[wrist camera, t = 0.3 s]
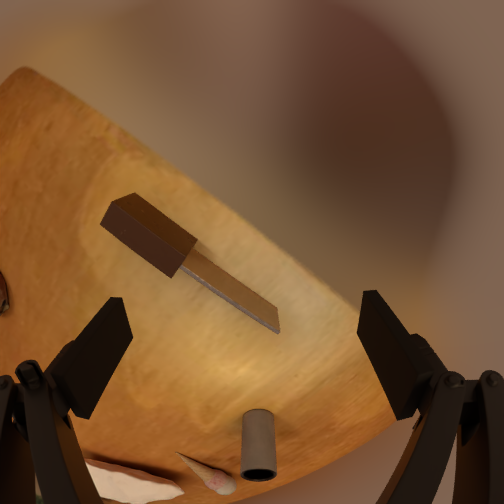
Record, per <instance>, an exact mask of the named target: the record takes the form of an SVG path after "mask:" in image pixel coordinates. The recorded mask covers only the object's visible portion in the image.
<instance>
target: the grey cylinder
mask: <svg viewBox="0 0 504 504" xmlns="http://www.w3.org/2000/svg"><path fill="white" fill-rule="evenodd" d="M240 475H241V477H242V478H244V479H246V480H249V481H256V482H260V481H268V480H271V479H273V478H275V477H276V475H277V466H276V447H275V428H274V416H273V414H272V413H270V412H269V411H267V410H262V409H255V410H251V411H248V412H247V413H245V414H244V416H243V425H242V448H241V471H240Z"/></svg>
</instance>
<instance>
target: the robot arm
mask: <svg viewBox="0 0 504 504" xmlns="http://www.w3.org/2000/svg"><path fill="white" fill-rule="evenodd" d="M357 335H358V337H359V339H360V341H361V343H362V345H363V347H364V349H365V351H366V353H367V355H368V357H369V359H370V361H371V363H372V366H373V368H374V370H375V372H376V374H377V376H378V378H379V381H380V383H381V385H382V387H383V389H384V392H385V394H386V396H387V398H388V401H389V403H390V405H391V407H392V410H393V412H394V414H395V417H396V419H397V421H398V420H402V419H406V418H409V417H412V416H413V415H414V413H415V411H416V409H417V408H418V410H419V412H420V416H419V418H418V420H417V422H416V423H415V425H414V427H413V429H414V430H413V432H412V435H411V437H410V439H409V442H408V444H407V446H406V448H405V450H404V452H403V455H402V457H401V459H400V461H399V463H398V465H397V467H396V469H395V471H394V473H393V475H392V476H391V478H390V480H389V482H388V484H387V485H386V487H385V489H384V491H383V493H382V494H381V496H380V497H379V499H378V501H377V502H376V504H432V501H433V499H434V497H435V494H436V492H437V490H438V487H439V484H440V482H441V479H442V477H443V474H444V471H445V469H446V465H447V463H448V460H449V457H450V453H451V450H452V447H453V443H454V440H455V436H456V433H457V452H456V471H455V483H454V492H453V500H452V504H504V379H503V377H502V376H501V375H500V374H499V373H498V372H496V371H492V370H487V371H485V372H483V373H482V375H481V377H480V379H479V380H465V379H464V377H463V376H462V375H461V374H459V373H456V372H453V371H448V370H447V368H446V367H445V366H444V364H443V363H442V361H441V360H440V359H439V357H438V356H437V355H436V353H434V350H433V349H432V348H431V347H430V345H429V344H428V343H427V341H426V340H425V339H424V338H423V337H421V336H420V335H418V334H411V335H410V334H409V333H408V332H407V330H406V329H405V327H404V326H403V325H402V323H401V322H400V321H399V319H398V318H397V316H396V315H395V314H394V313H393V311H392V310H391V309H390V307H389V306H388V305H387V303H386V302H385V301H384V299H383V298H382V297H381V296H380V294H379V293H378V292H377V290H370V291H363V298H362V304H361V311H360V317H359V323H358V329H357ZM132 339H133V335H132V332H131V328H130V325H129V321H128V318H127V314H126V311H125V307H124V303H123V299H122V298H121V297H110V299H109V300H108V301H107V302H106V303H105V304H104V306H103V307H102V308H101V309H100V310H99V311H98V313H97V314H96V315H95V316H94V317H93V319H92V320H91V321H90V322H89V323H88V325H87V326H86V327H85V328H84V329H83V331H82V332H81V333H80V334H79V336H78V337H77V338H76V339H75V341H74V340H72V341H70V342H69V343H68V344H66V345H65V346H64V347H63V348H62V350H61V351H60V353H58V355H57V356H56V358H54V360H53V361H52V362H51V364H50V365H49V366H48V367H47V369H46V370H45V371H44V373H43V372H42V370H41V368H40V366H39V364H38V362H36V361H35V360H26V361H24V362H22V363H21V364H19V365H18V367H17V368H16V370H15V374H16V376H17V377H18V379H19V381H20V382H21V383H15V382H14V380H13V379H12V377H11V376H9V375H3V376H0V504H36V486H35V473H36V478H37V481H38V485H39V489H40V492H41V496H42V499H43V502H44V504H104V503H103V501H102V499H101V497H100V495H99V493H98V491H97V489H96V487H95V484H94V482H93V480H92V477H91V475H90V473H89V470H88V468H87V465H86V463H85V460H84V457H83V455H82V452H81V449H80V446H79V444H78V441H77V438H76V434H75V431H74V428H73V425H72V421H71V418H70V416H69V415H68V411H69V410H70V408H71V410H72V411H73V413H74V414H75V416H77V417H80V418H84V419H88V420H89V418H90V416H91V414H92V412H93V411H94V409H95V407H96V405H97V403H98V401H99V399H100V397H101V395H102V393H103V391H104V389H105V388H106V386H107V384H108V382H109V380H110V378H111V376H112V375H113V373H114V371H115V369H116V367H117V366H118V364H119V362H120V360H121V358H122V357H123V355H124V353H125V351H126V349H127V348H128V346H129V344H130V342H131V341H132ZM12 417H13V418H14V420H13V423H12Z"/></svg>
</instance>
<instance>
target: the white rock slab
mask: <svg viewBox="0 0 504 504" xmlns="http://www.w3.org/2000/svg"><path fill="white" fill-rule="evenodd" d="M84 460H85V463H86V465H87V468H88V470H89V473H90V475H91V477H92V480H93V482H94V484H95V487H96V489H97V491H98V493H99V495H100V497H104V498H109V499H113V500H117V501H119V502H122V503H128V502H129V503H131V504H146V503H148V502H150V501H155V500H168V499H173V498H174V497H176V496H178V495H181V494H184V491H183V490H182V489H181V488H180V486H179V485H177V484H175V483H174V482H173V481H172V480H168V479H165V478H162V477H158V476H154V475H151V474H149V473H147V472H144V471H141V470H135V469H131V468H127V467H123V466H120V465H117V464H109V463H106V462H101V461H98V460H92V459H87V458H84Z"/></svg>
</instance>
